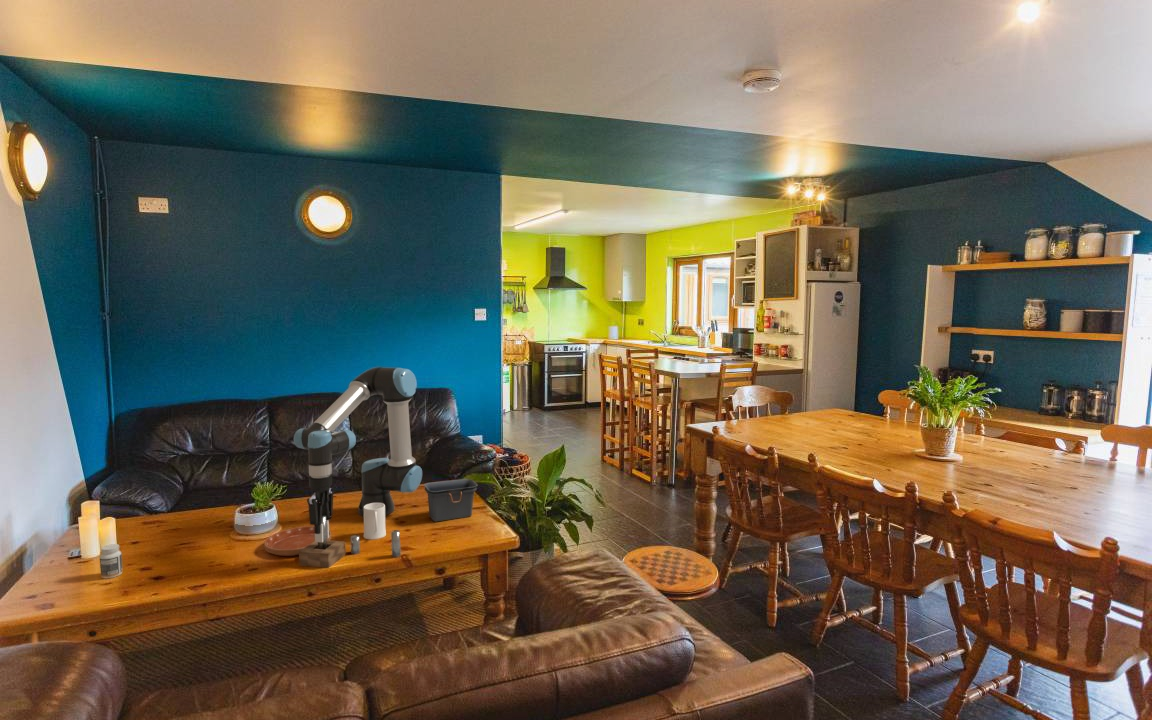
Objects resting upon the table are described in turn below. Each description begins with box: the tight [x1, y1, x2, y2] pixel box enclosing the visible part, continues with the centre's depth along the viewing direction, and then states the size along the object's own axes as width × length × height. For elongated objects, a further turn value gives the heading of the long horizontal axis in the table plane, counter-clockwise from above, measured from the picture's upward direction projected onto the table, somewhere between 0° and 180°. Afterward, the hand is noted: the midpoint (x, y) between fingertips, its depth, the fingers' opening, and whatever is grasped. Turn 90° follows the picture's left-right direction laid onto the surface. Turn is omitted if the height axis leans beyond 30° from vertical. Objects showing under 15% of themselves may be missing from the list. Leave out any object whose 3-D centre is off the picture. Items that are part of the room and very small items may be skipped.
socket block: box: [298, 539, 346, 569], centre depth 212 cm, size 11×11×5 cm
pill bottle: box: [99, 543, 124, 580], centre depth 198 cm, size 6×6×10 cm
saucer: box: [263, 525, 332, 557], centre depth 225 cm, size 23×23×4 cm
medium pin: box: [390, 529, 402, 558], centre depth 217 cm, size 3×3×9 cm
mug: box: [363, 503, 387, 540], centre depth 234 cm, size 12×8×12 cm
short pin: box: [350, 534, 361, 555], centre depth 219 cm, size 3×3×6 cm
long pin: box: [318, 515, 327, 550], centre depth 212 cm, size 3×3×14 cm
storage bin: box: [423, 478, 478, 523], centre depth 256 cm, size 21×16×14 cm
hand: (322, 539), depth 212 cm, fingers closed on long pin, 3 cm apart
